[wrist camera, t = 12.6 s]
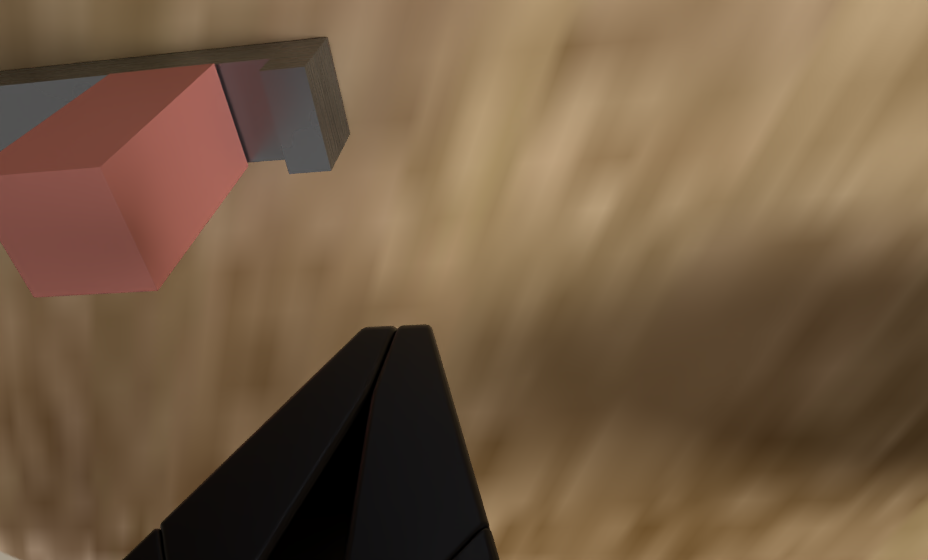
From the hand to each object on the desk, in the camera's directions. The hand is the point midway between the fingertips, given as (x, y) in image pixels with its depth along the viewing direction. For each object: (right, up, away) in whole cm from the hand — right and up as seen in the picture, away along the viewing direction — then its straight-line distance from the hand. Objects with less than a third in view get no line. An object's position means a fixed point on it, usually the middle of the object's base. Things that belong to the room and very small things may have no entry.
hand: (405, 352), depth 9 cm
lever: (-6, +5, +8) cm, 11 cm away
